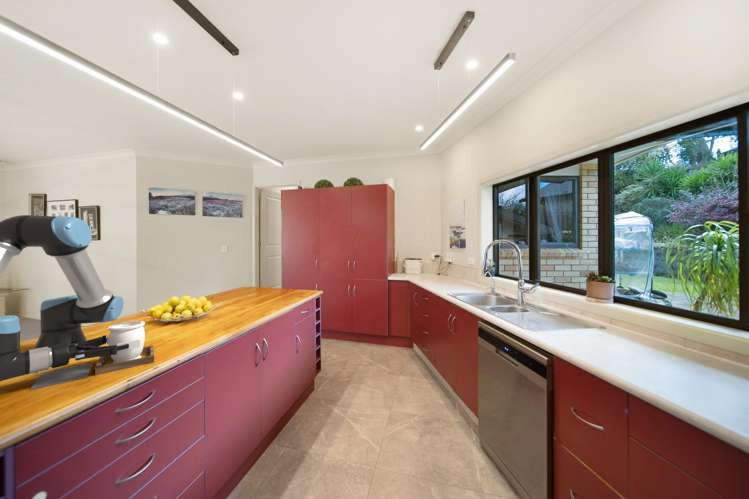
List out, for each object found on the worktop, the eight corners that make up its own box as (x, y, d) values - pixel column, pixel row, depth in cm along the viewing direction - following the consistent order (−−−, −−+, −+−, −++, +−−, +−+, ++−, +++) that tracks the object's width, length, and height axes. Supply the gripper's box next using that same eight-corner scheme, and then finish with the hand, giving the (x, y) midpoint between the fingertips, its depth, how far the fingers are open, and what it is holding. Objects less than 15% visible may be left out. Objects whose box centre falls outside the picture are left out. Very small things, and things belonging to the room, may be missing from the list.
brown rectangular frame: (100, 361, 103) (100, 355, 103) (153, 351, 114) (153, 345, 114) (95, 375, 92) (95, 368, 92) (154, 362, 103) (154, 355, 103)
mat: (43, 373, 93) (43, 372, 93) (92, 364, 101) (92, 362, 101) (30, 389, 82) (30, 388, 82) (86, 377, 90) (86, 376, 90)
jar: (122, 369, 97) (122, 329, 97) (100, 366, 99) (100, 327, 99) (151, 357, 107) (151, 321, 107) (131, 355, 109) (132, 319, 109)
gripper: (45, 359, 94) (124, 342, 111) (55, 379, 80) (144, 355, 98) (45, 339, 94) (125, 324, 111) (55, 354, 80) (144, 335, 98)
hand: (134, 339), depth 105 cm, fingers open, 13 cm apart
